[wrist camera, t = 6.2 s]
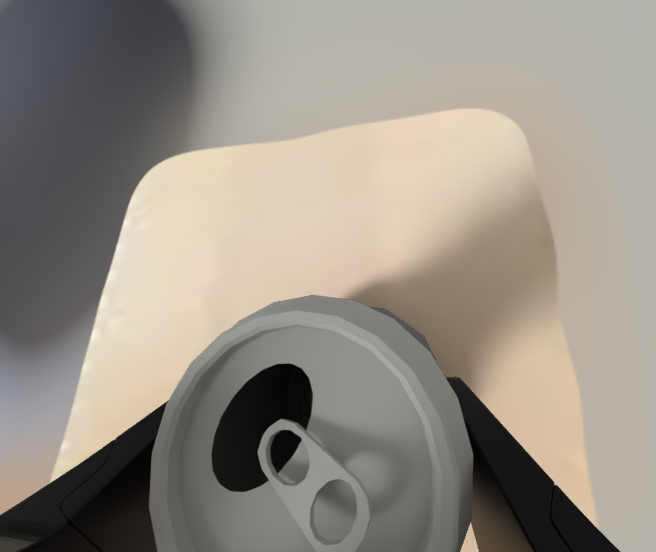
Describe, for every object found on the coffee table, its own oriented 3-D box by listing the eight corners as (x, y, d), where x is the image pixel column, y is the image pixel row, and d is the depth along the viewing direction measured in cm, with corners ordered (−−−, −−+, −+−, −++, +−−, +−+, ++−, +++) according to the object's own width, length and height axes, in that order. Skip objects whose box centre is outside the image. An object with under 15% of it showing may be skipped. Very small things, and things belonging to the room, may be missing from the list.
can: (337, 310, 18) (265, 221, 7) (444, 385, 16) (596, 435, 5) (266, 409, 17) (46, 494, 6) (368, 506, 15) (324, 955, 4)
